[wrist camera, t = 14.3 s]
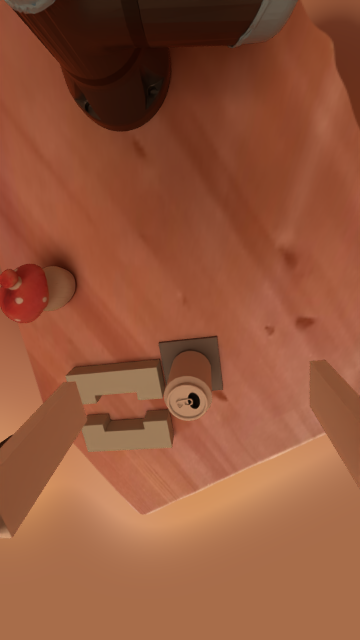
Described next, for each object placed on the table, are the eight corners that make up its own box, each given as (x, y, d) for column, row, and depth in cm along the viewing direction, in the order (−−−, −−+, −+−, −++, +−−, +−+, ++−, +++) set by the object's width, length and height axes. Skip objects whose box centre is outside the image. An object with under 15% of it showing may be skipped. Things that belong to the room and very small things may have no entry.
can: (214, 381, 50) (216, 422, 39) (176, 386, 52) (168, 427, 40) (207, 345, 48) (207, 378, 37) (168, 352, 50) (157, 385, 38)
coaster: (159, 342, 50) (158, 343, 49) (216, 336, 48) (216, 337, 48) (168, 392, 53) (168, 394, 52) (222, 388, 51) (223, 389, 51)
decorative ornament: (58, 253, 47) (-6, 258, 32) (88, 276, 47) (38, 291, 33) (35, 292, 49) (-35, 314, 35) (63, 314, 50) (7, 343, 36)
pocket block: (74, 367, 53) (65, 375, 50) (159, 359, 51) (156, 367, 48) (95, 439, 58) (88, 451, 55) (173, 435, 56) (171, 447, 52)
